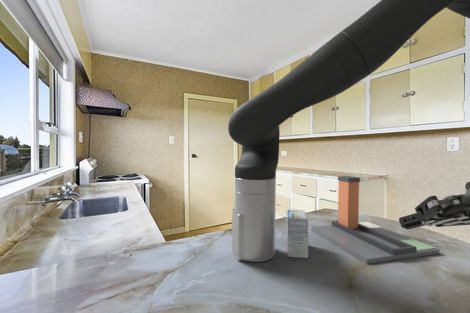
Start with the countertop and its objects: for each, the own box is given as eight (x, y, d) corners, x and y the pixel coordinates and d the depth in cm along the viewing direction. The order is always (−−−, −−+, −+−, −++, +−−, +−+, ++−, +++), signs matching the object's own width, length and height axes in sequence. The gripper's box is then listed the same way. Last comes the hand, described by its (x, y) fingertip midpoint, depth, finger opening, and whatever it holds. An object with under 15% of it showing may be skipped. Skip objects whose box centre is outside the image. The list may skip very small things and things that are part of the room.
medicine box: (308, 259, 48) (309, 219, 47) (287, 257, 48) (287, 218, 48) (304, 244, 55) (304, 209, 55) (286, 242, 56) (286, 208, 56)
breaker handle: (347, 229, 62) (348, 178, 62) (336, 224, 66) (337, 176, 66) (359, 228, 63) (360, 177, 62) (347, 223, 67) (348, 175, 67)
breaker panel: (366, 263, 46) (366, 253, 46) (311, 229, 65) (311, 222, 65) (439, 253, 50) (439, 244, 50) (367, 224, 70) (367, 217, 70)
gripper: (520, 183, 38) (413, 213, 51) (484, 159, 33) (375, 199, 46) (555, 226, 34) (428, 248, 46) (519, 207, 29) (388, 236, 41)
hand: (402, 223), depth 46 cm, fingers closed
